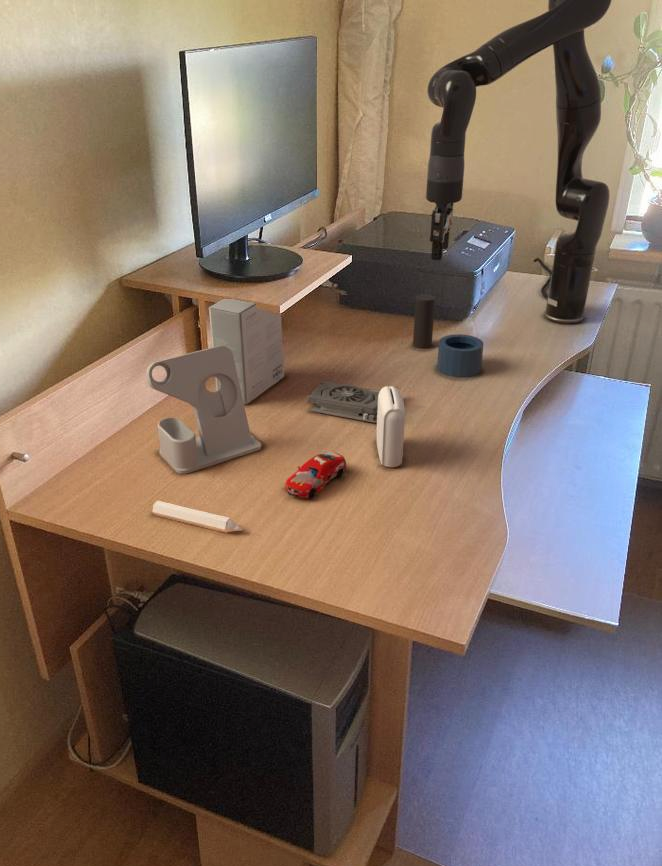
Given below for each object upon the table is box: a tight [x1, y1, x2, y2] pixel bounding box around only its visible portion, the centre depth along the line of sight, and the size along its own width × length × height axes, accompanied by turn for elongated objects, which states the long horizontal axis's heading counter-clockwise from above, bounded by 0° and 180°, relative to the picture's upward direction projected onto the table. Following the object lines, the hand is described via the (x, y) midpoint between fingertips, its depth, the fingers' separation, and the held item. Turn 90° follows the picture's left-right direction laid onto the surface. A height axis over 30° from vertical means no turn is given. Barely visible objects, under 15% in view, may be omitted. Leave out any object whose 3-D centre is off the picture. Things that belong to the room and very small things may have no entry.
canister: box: [412, 293, 436, 350], centre depth 181 cm, size 4×4×12 cm
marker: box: [152, 500, 244, 534], centre depth 124 cm, size 3×2×16 cm
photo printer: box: [375, 385, 406, 468], centre depth 139 cm, size 10×4×12 cm, turn 0°
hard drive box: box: [208, 290, 285, 406], centre depth 161 cm, size 16×8×20 cm, turn 150°
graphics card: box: [306, 380, 399, 424], centre depth 158 cm, size 17×4×12 cm
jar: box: [436, 333, 485, 379], centre depth 171 cm, size 9×10×6 cm
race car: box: [284, 451, 347, 499], centre depth 133 cm, size 13×5×4 cm, turn 140°
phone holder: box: [145, 346, 262, 475], centre depth 139 cm, size 17×10×18 cm, turn 122°
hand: (439, 253), depth 172 cm, fingers open, 8 cm apart
